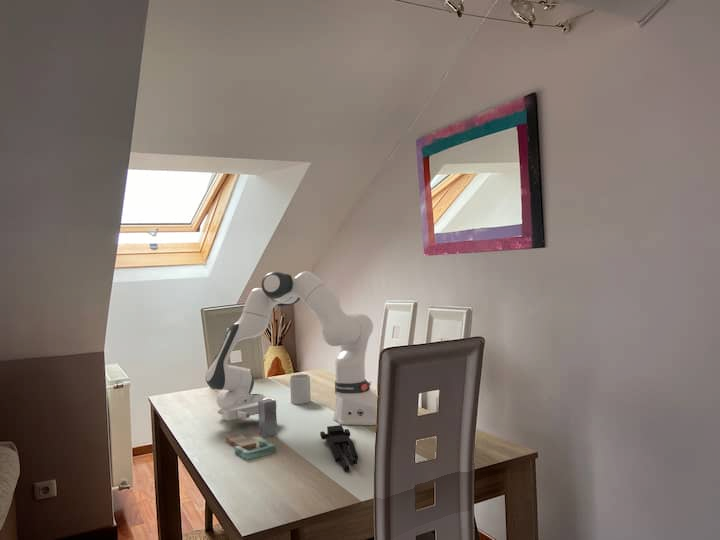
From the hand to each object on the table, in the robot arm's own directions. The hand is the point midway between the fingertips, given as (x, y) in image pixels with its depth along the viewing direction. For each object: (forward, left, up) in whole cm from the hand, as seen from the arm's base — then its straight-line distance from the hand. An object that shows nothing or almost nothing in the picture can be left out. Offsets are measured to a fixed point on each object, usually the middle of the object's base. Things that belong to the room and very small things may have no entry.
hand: (259, 412), depth 195 cm
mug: (+6, -41, -7) cm, 42 cm away
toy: (-38, +13, -7) cm, 41 cm away
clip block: (-6, +3, -7) cm, 9 cm away
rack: (-6, +17, -6) cm, 19 cm away
